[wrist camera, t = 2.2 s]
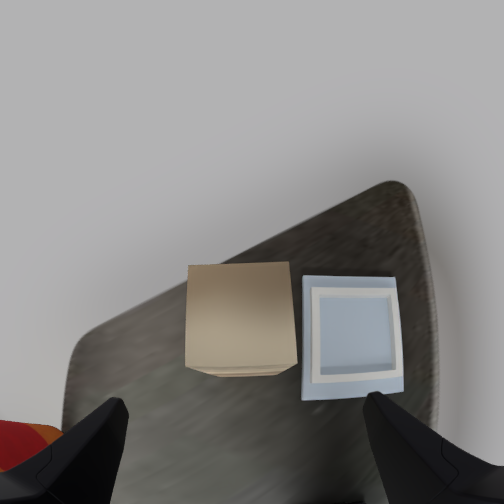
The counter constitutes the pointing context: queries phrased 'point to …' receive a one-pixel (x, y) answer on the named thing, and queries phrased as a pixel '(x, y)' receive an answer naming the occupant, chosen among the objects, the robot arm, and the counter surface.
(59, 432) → the paper cup
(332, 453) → the counter surface
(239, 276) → the birch pillar
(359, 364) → the board
